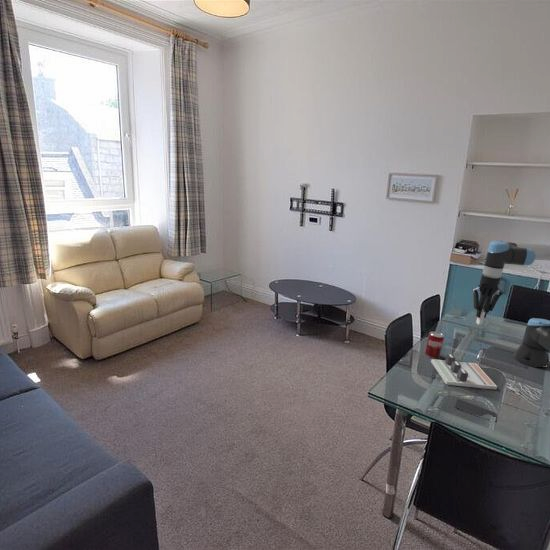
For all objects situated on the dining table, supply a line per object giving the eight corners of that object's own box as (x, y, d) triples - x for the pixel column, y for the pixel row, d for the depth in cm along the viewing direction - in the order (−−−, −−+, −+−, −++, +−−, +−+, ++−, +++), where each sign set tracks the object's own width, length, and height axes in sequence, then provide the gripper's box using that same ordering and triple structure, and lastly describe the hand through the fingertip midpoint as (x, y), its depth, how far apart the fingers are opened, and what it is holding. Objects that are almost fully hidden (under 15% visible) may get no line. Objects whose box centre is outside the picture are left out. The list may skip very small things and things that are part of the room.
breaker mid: (456, 369, 176) (458, 361, 174) (459, 373, 173) (461, 365, 172) (450, 369, 176) (452, 361, 175) (453, 372, 173) (454, 364, 172)
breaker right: (463, 377, 169) (465, 369, 168) (466, 381, 166) (468, 373, 165) (456, 377, 169) (458, 369, 168) (459, 380, 166) (461, 372, 165)
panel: (475, 366, 184) (476, 362, 183) (496, 389, 165) (497, 385, 164) (430, 361, 185) (431, 358, 184) (446, 384, 165) (447, 380, 165)
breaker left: (451, 362, 182) (452, 354, 181) (453, 365, 179) (455, 357, 178) (444, 361, 182) (446, 353, 181) (447, 364, 180) (449, 357, 178)
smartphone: (496, 422, 142) (454, 406, 149) (495, 424, 142) (453, 408, 149) (497, 412, 148) (456, 397, 155) (496, 414, 148) (455, 399, 155)
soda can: (440, 360, 187) (446, 338, 184) (425, 357, 188) (430, 336, 185) (437, 353, 194) (442, 332, 190) (423, 351, 195) (427, 330, 192)
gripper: (501, 274, 170) (489, 321, 177) (472, 272, 170) (461, 319, 177) (510, 279, 163) (497, 328, 169) (480, 276, 163) (468, 325, 170)
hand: (479, 323), depth 173 cm, fingers closed
